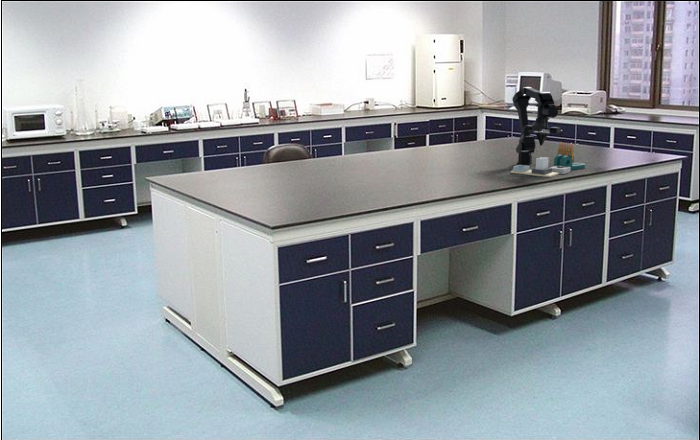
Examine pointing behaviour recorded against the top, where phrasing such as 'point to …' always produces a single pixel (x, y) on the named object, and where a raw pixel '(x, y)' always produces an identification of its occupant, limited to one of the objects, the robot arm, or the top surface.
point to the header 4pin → (541, 171)
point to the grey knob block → (561, 169)
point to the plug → (542, 163)
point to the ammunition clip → (566, 150)
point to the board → (536, 174)
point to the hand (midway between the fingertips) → (541, 145)
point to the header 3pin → (521, 168)
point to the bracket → (561, 161)
